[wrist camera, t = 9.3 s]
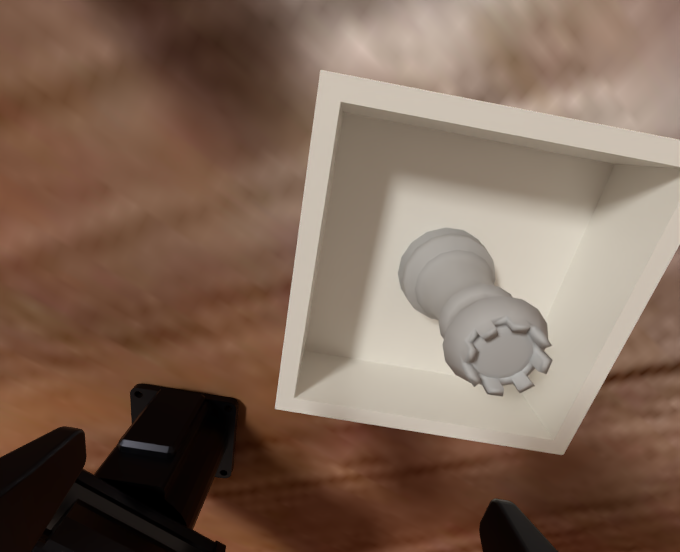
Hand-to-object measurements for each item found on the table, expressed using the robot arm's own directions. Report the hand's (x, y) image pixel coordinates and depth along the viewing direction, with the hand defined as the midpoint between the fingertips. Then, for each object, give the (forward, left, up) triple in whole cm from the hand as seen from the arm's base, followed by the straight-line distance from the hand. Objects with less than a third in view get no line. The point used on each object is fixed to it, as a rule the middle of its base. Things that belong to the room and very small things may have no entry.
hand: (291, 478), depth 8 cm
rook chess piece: (+2, -6, -11) cm, 13 cm away
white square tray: (+2, -6, -12) cm, 13 cm away
